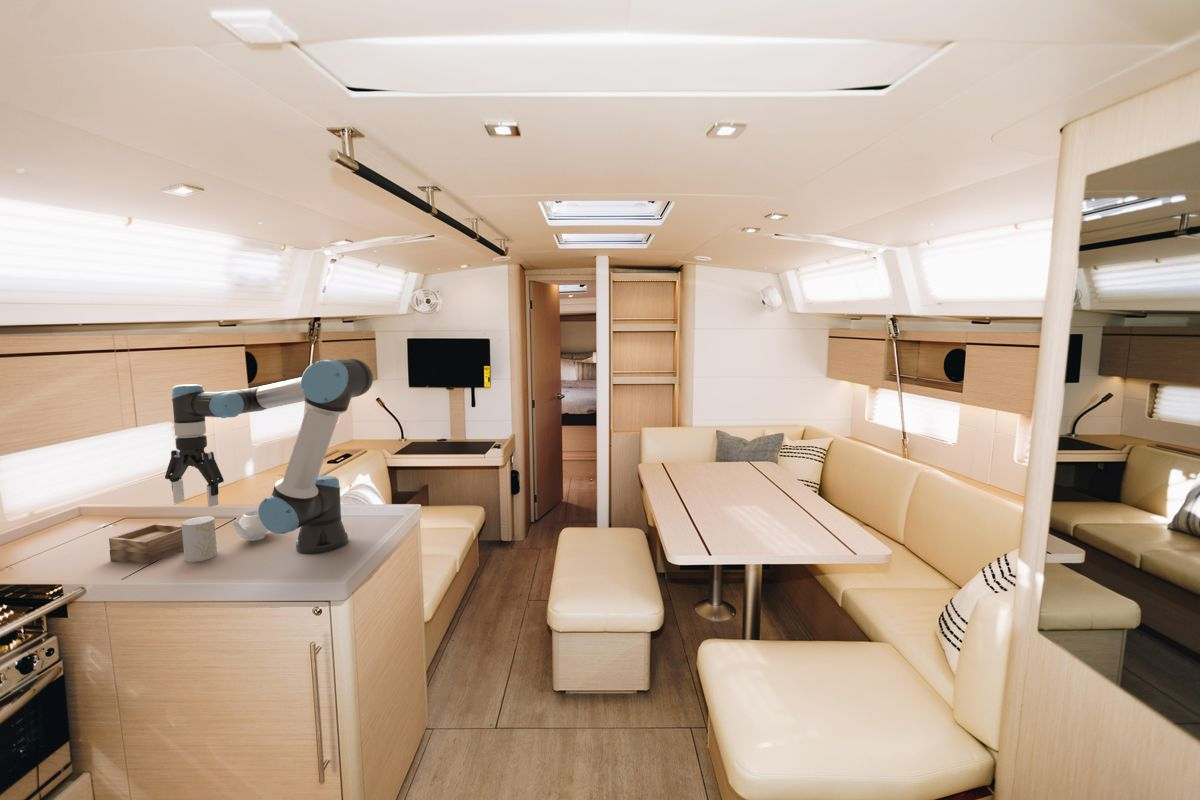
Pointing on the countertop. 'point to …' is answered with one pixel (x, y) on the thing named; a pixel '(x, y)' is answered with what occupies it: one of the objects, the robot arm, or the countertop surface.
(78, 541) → the countertop surface
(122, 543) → the wooden tray
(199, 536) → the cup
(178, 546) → the tower base
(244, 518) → the teapot
